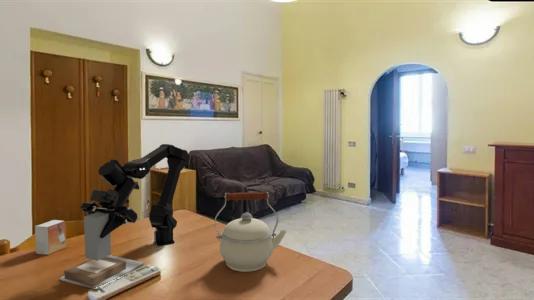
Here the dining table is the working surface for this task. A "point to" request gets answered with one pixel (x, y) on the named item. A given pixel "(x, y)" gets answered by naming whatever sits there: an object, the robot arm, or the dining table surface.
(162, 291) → the dining table surface
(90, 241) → the post
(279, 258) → the dining table surface
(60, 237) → the small box
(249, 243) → the kettle
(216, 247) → the dining table surface
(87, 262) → the plinth
